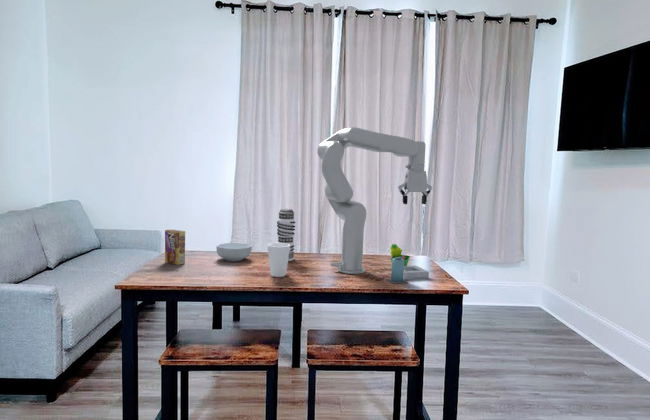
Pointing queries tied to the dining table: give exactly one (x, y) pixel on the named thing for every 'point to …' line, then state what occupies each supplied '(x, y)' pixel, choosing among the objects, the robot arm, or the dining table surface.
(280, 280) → the dining table surface
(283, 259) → the foam cup
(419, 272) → the frame
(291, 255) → the decorative candle
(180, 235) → the candy box
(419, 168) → the robot arm
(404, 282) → the mat
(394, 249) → the fruit basket
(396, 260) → the blue cylinder
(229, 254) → the cereal bowl
